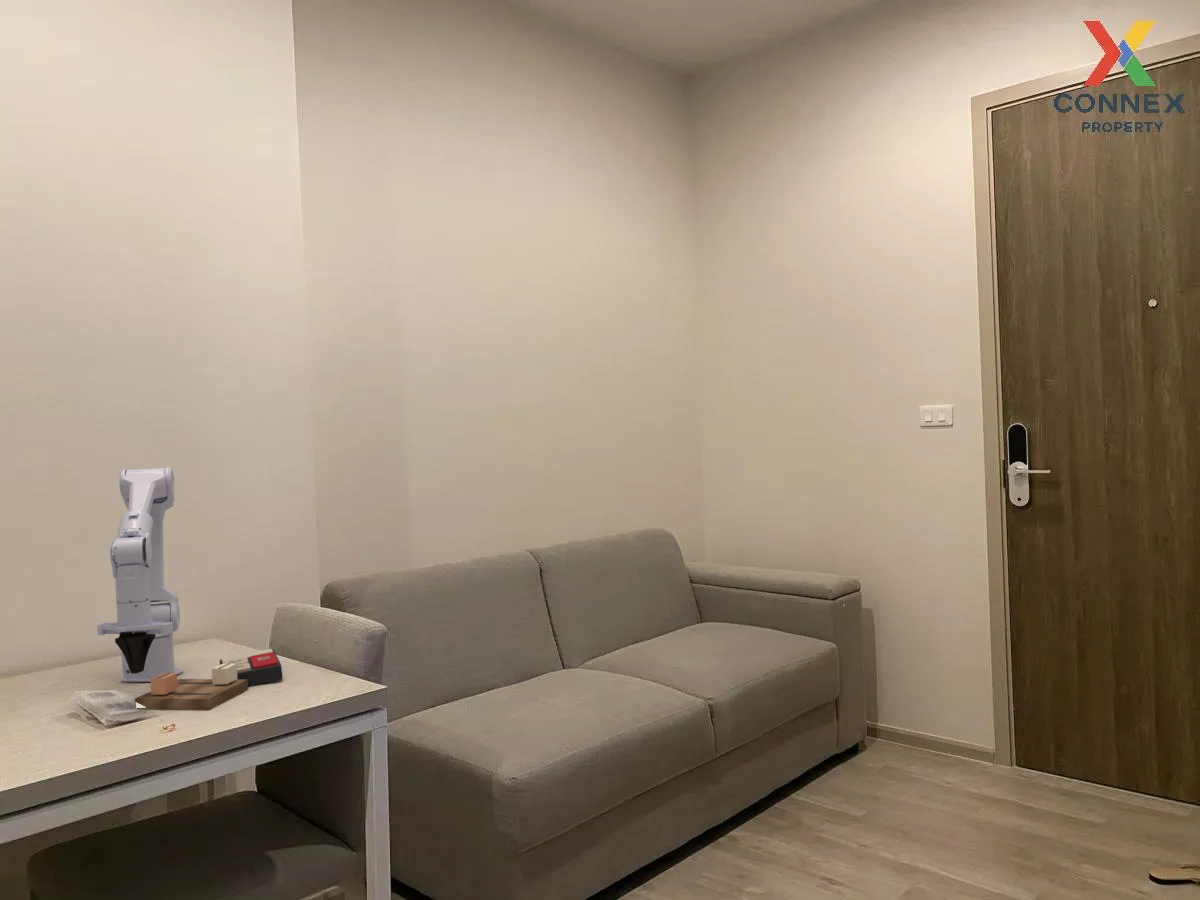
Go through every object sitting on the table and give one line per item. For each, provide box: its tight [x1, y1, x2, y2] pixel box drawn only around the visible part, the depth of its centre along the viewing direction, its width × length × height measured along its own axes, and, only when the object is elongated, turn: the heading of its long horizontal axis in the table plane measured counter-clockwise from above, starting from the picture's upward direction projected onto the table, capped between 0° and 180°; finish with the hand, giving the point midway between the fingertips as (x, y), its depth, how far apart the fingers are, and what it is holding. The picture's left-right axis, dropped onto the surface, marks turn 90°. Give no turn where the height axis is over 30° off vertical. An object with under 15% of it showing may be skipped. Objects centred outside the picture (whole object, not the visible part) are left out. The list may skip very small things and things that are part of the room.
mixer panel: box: [134, 678, 249, 711], centre depth 172 cm, size 15×13×2 cm
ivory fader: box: [211, 663, 237, 684], centre depth 175 cm, size 3×4×3 cm
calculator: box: [219, 648, 283, 687], centre depth 187 cm, size 11×4×15 cm
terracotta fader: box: [149, 673, 178, 695], centre depth 170 cm, size 3×4×3 cm
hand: (137, 672), depth 170 cm, fingers closed
